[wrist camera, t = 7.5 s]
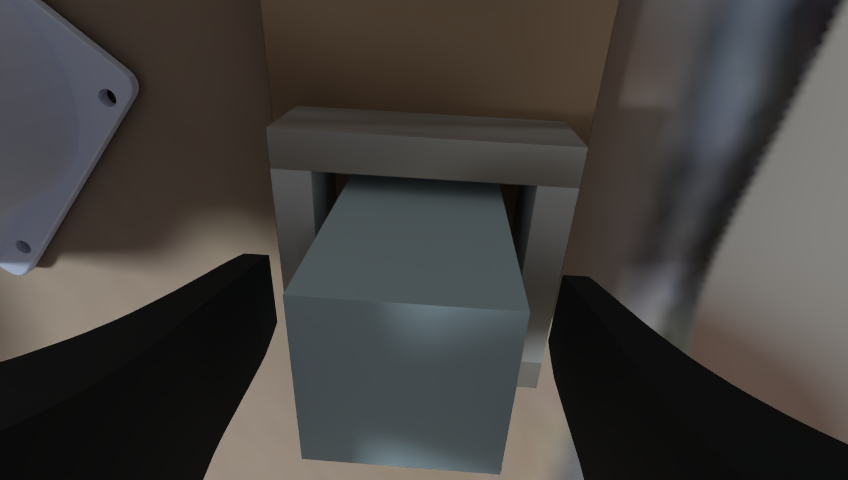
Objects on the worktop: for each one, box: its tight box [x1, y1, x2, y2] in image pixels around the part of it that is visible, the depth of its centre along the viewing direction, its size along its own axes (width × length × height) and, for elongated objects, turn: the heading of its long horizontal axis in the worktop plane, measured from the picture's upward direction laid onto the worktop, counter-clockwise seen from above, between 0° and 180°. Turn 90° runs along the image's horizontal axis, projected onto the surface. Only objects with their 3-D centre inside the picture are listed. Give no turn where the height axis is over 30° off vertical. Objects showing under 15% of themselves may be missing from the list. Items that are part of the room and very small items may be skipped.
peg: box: [283, 174, 530, 474], centre depth 12 cm, size 4×4×7 cm
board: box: [260, 0, 619, 388], centre depth 13 cm, size 14×9×4 cm, turn 177°
